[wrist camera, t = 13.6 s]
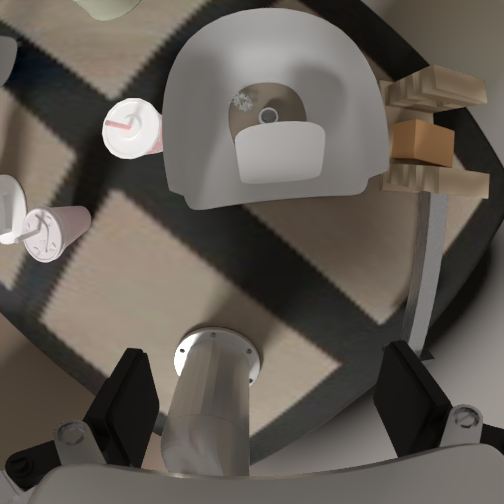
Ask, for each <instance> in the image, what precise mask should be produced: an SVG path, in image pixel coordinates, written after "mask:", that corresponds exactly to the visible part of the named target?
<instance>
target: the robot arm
mask: <svg viewBox="0 0 504 504" xmlns="http://www.w3.org/2000/svg"><path fill="white" fill-rule="evenodd" d="M213 332H214V333H213ZM174 363H175V368H176V370H177V373H178V375H179V379H178V382H177V386H176V389H175V392H174V396H173V399H172V402H171V406H170V409H169V412H168V416H167V419H166V423H165V426H164V430H163V433H162V437H161V444H160V446H161V447H160V448H161V455H162V458H163V461H164V464H165V466H166V468H167V470H168V472H163V471H155V470H147V469H143V468H141V465H142V462H143V459H144V455H145V452H146V449H147V446H148V443H149V440H150V436H151V433H152V430H153V427H154V424H155V421H156V418H157V415H158V412H159V399H158V396H157V392H156V388H155V384H154V380H153V376H152V372H151V368H150V364H149V360H148V356H147V353H143V351H142V349H135V348H127V349H126V351H125V352H124V354H123V356H122V357H121V359H120V361H119V362H118V364H117V366H116V367H115V369H114V371H113V372H112V374H111V376H110V378H107V379H106V380H105V382H104V384H103V385H102V387H101V389H100V391H99V392H98V394H97V396H96V397H95V399H94V401H93V403H92V405H91V406H90V408H89V410H88V412H87V413H86V415H85V417H84V419H83V420H82V421H81V420H75V419H71V420H67V421H64V422H62V423H61V424H59V425H58V426H57V427H56V429H55V430H54V433H53V438H54V440H52V441H49V442H46V443H43V444H40V445H37V446H35V447H32V448H29V449H26V450H22V451H19V452H16V453H14V454H12V455H11V456H10V457H9V458H8V460H7V461H6V464H5V470H4V471H1V470H0V504H504V429H501V428H497V427H493V426H490V425H486V424H483V416H482V414H481V412H480V411H479V410H478V409H476V408H475V407H473V406H470V405H465V404H463V405H458V406H455V407H454V408H453V406H452V405H451V402H450V401H449V399H448V398H447V396H446V395H445V393H444V392H443V391H442V389H441V388H440V387H439V385H438V384H437V382H436V381H435V380H434V378H433V377H432V376H431V374H430V373H429V372H428V370H427V369H426V367H425V366H424V365H423V363H422V362H421V361H420V359H419V358H418V357H417V355H416V354H415V353H414V352H413V350H412V349H411V348H410V346H409V345H408V344H407V342H406V341H405V340H400V341H392V342H390V344H389V346H386V348H385V352H384V356H383V360H382V365H381V369H380V373H379V377H378V381H377V384H376V388H375V392H374V397H373V400H374V404H375V406H376V408H377V410H378V413H379V415H380V417H381V419H382V422H383V424H384V426H385V428H386V431H387V433H388V435H389V437H390V440H391V442H392V444H393V447H394V449H395V451H396V454H397V456H398V458H395V459H390V460H386V461H382V462H376V463H372V464H367V465H361V466H356V467H350V468H344V469H338V470H330V471H322V472H313V473H303V474H291V475H275V476H250V470H249V387H251V386H252V385H253V384H254V382H255V381H256V379H257V378H258V375H259V372H260V358H259V354H258V352H257V350H256V348H255V346H254V345H253V344H252V343H251V341H249V340H248V339H247V338H246V337H245V336H243V335H241V334H240V333H238V332H236V331H233V330H230V329H226V328H221V327H207V328H201V329H198V330H195V331H193V332H191V333H189V334H188V335H187V336H185V337H184V338H183V339H182V340H181V342H180V343H179V345H178V347H177V349H176V353H175V358H174Z"/></svg>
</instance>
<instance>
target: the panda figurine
mask: <svg viewBox="0 0 504 504" xmlns="http://www.w3.org/2000/svg"><path fill="white" fill-rule="evenodd" d="M26 215H27V204H26V199H25V195H24V192H23V190H22V188H21V186H20V184H19V183H18V182H17V180H16V179H15V178H13V177H12V176H10V175H5V174H4V175H0V242H1V243H3V244H12V243H14V239H15V238H17V237H19V236H21V235H22V227H23V222H24V219H25V217H26Z"/></svg>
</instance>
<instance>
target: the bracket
mask: <svg viewBox="0 0 504 504" xmlns="http://www.w3.org/2000/svg"><path fill="white" fill-rule="evenodd" d="M378 87H379V90H380V93H381V96H382V100H383V105H384V109H385V114H386V120H387V128H388V136H389V170H388V171H386V172H383V173H381V174H380V190H382V191H401V192H418V193H420V190H423V191H428V192H432V193H436V194H445V195H457V196H467V197H477V198H487V199H488V192H489V174H484V173H478V172H472V171H465V170H459V169H452V168H444V167H435V166H426V165H422V164H420V161H418V160H404V159H395V158H391V155H392V143H393V129H394V124H395V123H399V122H404V121H409V120H414V119H418V120H421V121H425V122H428V123H431V124H433V113H435V112H440V111H445V110H450V109H456V108H461V107H467V106H473V105H479V104H486V103H487V96H486V88H485V81H483V80H481V79H478V78H475V77H473V76H469V75H467V74H464V73H461V72H458V71H455V70H452V69H448V68H445V67H441V66H439V65H435V64H433V65H430V66H428V67H426V68H424V69H422V70H420V71H417V72H415V73H413V74H411V75H409V76H407V77H405V78H403V79H401V80H399V81H397V82H389V81H383V80H379V81H378Z"/></svg>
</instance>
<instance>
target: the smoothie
mask: <svg viewBox="0 0 504 504" xmlns="http://www.w3.org/2000/svg"><path fill="white" fill-rule="evenodd" d="M90 225H91V215H90V213H89V211H88V210H87V209H86V208H85V207H83V206H69V207H56V208H50V207H46V206H40V207H37V208H34V209H32V210H31V211H29V212H28V214H27V215H26V217H25V219H24V222H23V227H22V235H21V236H19V237H17V238H15V239H14V242H15V243H19V242H21V241H24V244H25V246H26V248H27V250H28V252H29V253H30V254H31V255H32V256H33V257H34V258H35V259H36V260H38V261H41V262H50V261H52V260H54V259H57V258H58V257H59V256H60V255H61V254H62V252H63V250H64V249H65V248H66V247H67V246H68V245H69V244H70V243H72V242H73V241H74V240H75V239H77V238H78V237H79V236H80V235H81V234H83V233H84V232H85V231H86V230H88V229H89V227H90Z"/></svg>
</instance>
